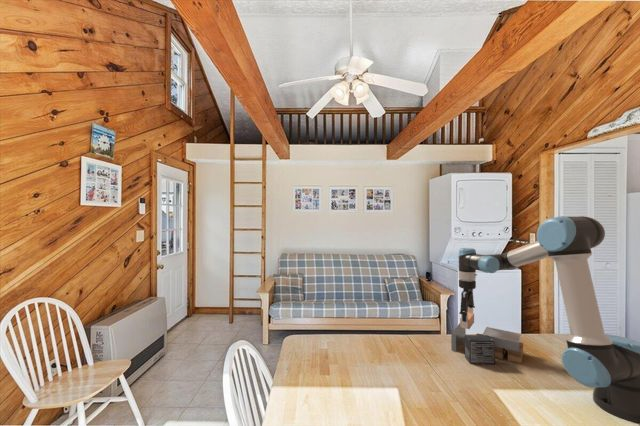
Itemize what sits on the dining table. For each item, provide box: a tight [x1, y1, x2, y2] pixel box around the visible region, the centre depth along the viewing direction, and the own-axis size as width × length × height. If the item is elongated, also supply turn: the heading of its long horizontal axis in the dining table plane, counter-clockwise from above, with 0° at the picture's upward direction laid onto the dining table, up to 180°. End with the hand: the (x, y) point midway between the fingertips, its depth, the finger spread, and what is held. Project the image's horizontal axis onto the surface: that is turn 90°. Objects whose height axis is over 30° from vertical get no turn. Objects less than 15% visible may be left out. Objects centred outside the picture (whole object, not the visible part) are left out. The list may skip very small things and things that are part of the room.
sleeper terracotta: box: [459, 312, 475, 330], centre depth 149 cm, size 11×4×4 cm, turn 142°
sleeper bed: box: [475, 333, 524, 364], centre depth 142 cm, size 11×19×5 cm, turn 52°
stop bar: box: [450, 323, 467, 352], centre depth 152 cm, size 20×2×8 cm, turn 142°
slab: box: [481, 326, 522, 352], centre depth 141 cm, size 12×14×4 cm
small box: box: [464, 334, 496, 366], centre depth 134 cm, size 11×6×10 cm, turn 84°
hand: (467, 324), depth 149 cm, fingers closed on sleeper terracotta, 11 cm apart
